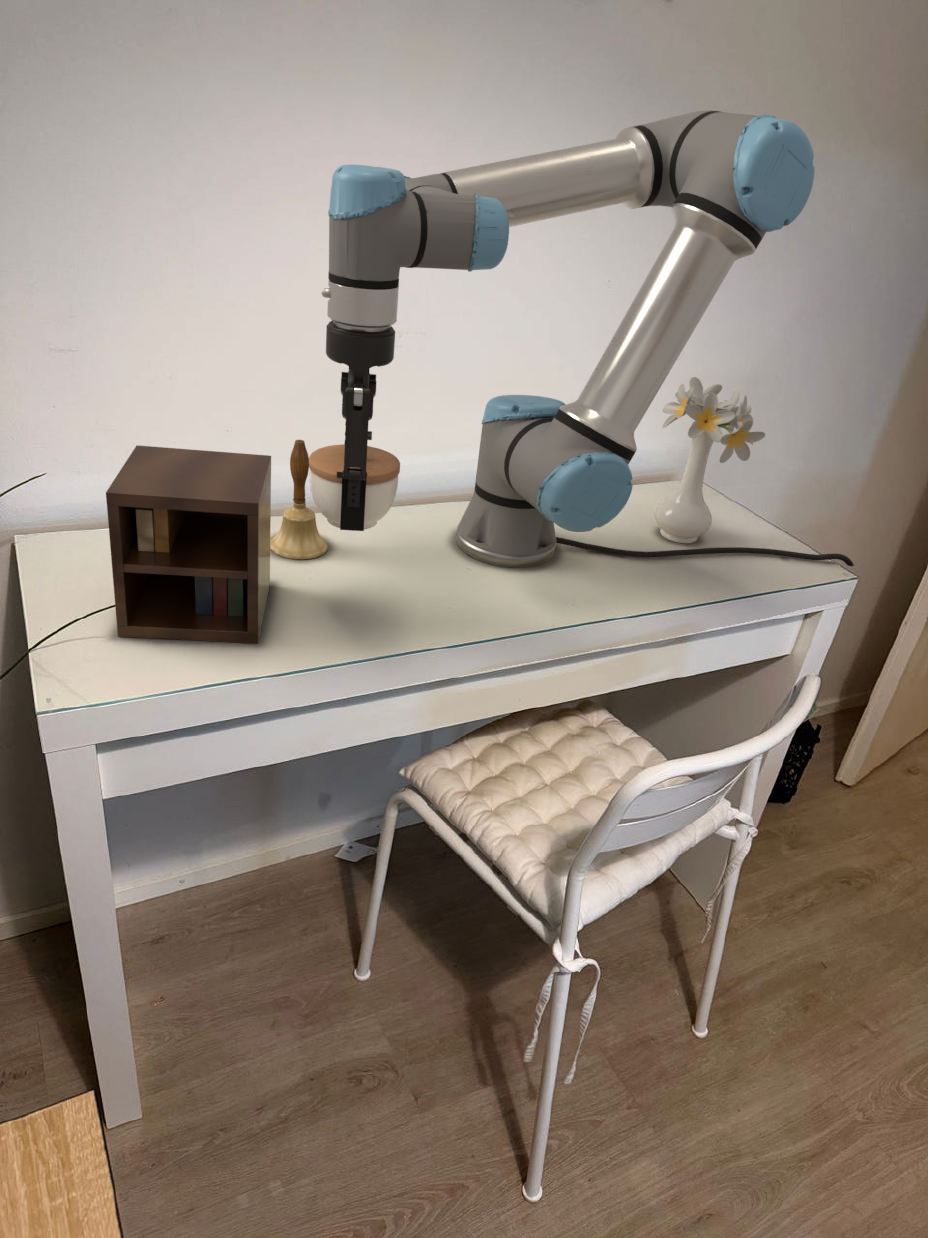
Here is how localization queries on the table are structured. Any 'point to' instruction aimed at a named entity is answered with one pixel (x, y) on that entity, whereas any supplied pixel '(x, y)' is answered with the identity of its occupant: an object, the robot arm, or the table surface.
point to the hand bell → (299, 516)
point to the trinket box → (329, 487)
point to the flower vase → (702, 455)
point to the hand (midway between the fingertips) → (352, 509)
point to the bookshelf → (190, 544)
